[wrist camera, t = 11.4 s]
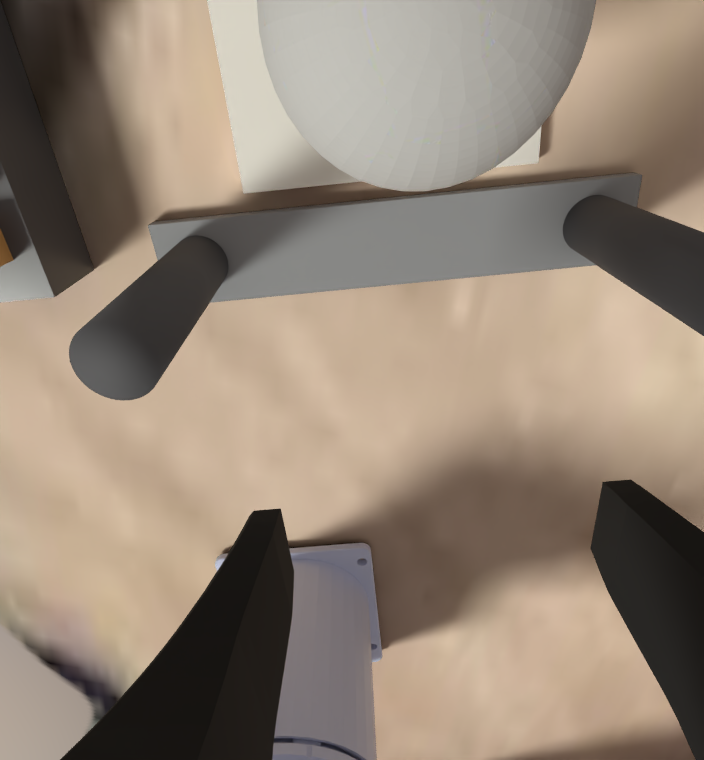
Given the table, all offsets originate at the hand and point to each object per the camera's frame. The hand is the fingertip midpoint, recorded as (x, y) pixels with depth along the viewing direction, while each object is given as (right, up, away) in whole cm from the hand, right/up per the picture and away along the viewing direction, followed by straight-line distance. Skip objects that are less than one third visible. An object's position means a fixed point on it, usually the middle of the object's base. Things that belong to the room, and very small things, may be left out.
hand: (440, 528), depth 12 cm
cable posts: (-1, +9, +7) cm, 11 cm away
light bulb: (-1, +13, +4) cm, 14 cm away
